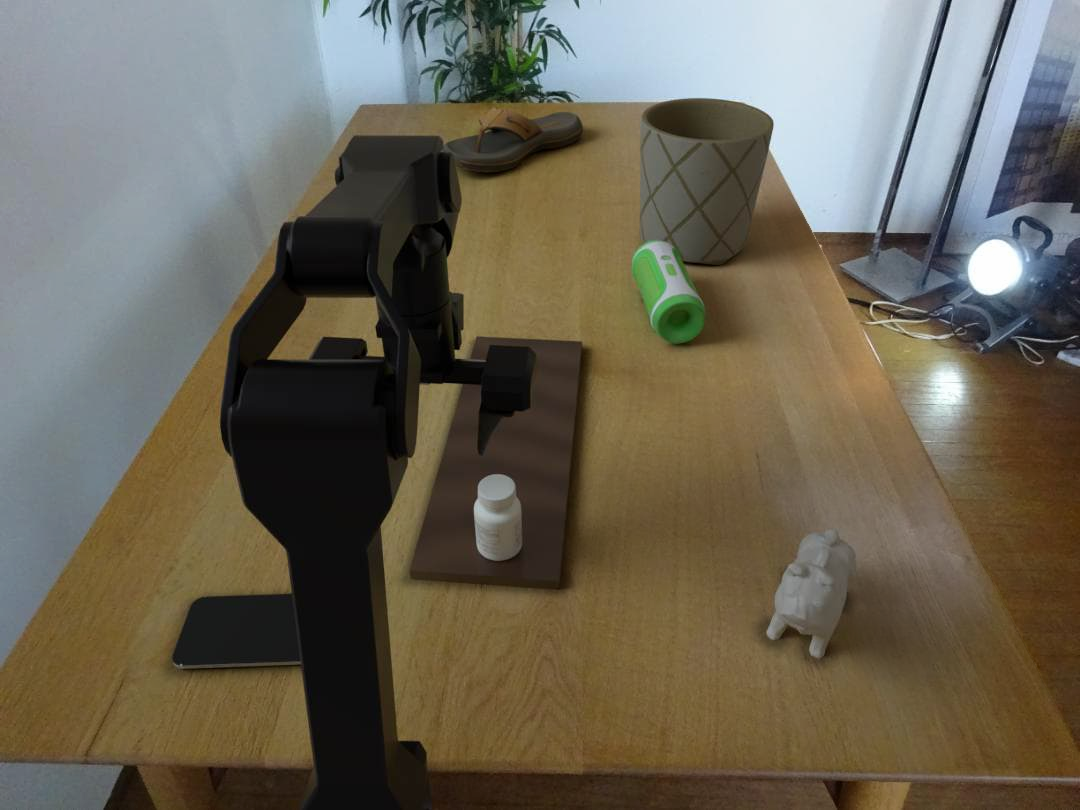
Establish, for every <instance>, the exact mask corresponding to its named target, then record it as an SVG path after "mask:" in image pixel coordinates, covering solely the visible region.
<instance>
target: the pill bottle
mask: <svg viewBox="0 0 1080 810" xmlns="http://www.w3.org/2000/svg"><path fill="white" fill-rule="evenodd" d="M474 519H475V531H476V542H477V548H478V550H479V552H480V553H481V554H482V555H483V556H484V557H485V558H487V559H490V560H494V561H503V560H507V559H510V558H512V557H513V556H515V555H516V554H517V553H518V552H519V551H520V549H521V547H522V516H521V504H520V501H519V499H518V498H517V497H516V486H515V483H514V481H513V480H512V479H511V478H510V477H508V476H505V475H501V474H494V475H490V476H487V477H485V478H484V479H482V480H481V481H480V483H479V484H478V499H477V500H476V502H475V505H474Z"/></svg>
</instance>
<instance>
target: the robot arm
mask: <svg viewBox="0 0 1080 810" xmlns="http://www.w3.org/2000/svg"><path fill="white" fill-rule="evenodd" d="M443 146H444V140H443V138H442V136H440V135H401V134H400V135H397V134H396V135H394V134H393V135H391V134H390V135H389V134H388V135H387V134H386V135H380V134H378V135H375V134H374V135H373V134H371V135H370V134H369V135H367V134H366V135H359V134H357V135H356V134H354V135H353V136H352V137H351V139H349V141H348V143H347V145H346V147H345V148H344V150H343V152H342V153H340V154H341V155H340V156H339V157H338V166H337V168H335V170H334V182H335V185H336V186H335V187H333V189H332V190H331V191H330V192H329V193H327V194H326V195H325V196H324V197H323V198H322V199H321V200H320V201H319V202H318V203H317V204H316V205H315V206H314V207H312V209H311V210H310V211H309V212H307V214H305V215H299V216H297V217H296V218H295V219H294V221H284V222H283V224H282V225H281V227H280V229H279V233H278V239H277V246H276V253H275V254H276V256H275V262H274V271H273V273H272V274H271V276H270V278H269V279H268V280H267V282H266V283H265V284H264V286H263V287H262V288H261V290H260V291H259V292H258V294H257V295H256V296H255V297H254V299H253V300H252V302H251V303H250V304H249V306H248V307H247V308H246V310H245V311H244V312H243V314H242V315H241V316H240V318H239V319H238V320H237V322H235V324H234V325H233V327H232V330H231V332H230V335H229V341H228V343H229V344H228V349H227V358H226V365H225V373H224V382H223V388H222V389H223V390H222V396H221V402H220V403H221V404H220V416H219V417H220V418H219V428H220V436H221V441H222V444H223V447H224V450H225V452H226V453H227V454H228V456H229V457H231V459H232V463H233V468H234V471H235V472H234V473H235V476H236V481H237V484H238V489H239V493H240V496H241V501H242V503H243V506H244V507H245V509H246V510H248V512H249V513H250V514H251V515H252V516H253V517H254V518H255V519H256V520H257V521H258V523H260V524H261V525H262V526H263V528H265V529H266V531H267V532H268V533H269V534H270V535H271V536H272V537H273V538H274V539H275V540H276V542H278V543H279V545H280V546H281V547H282V548H283V549H284V550H285V554H286V558H287V559H286V560H287V566H288V573H289V574H288V575H289V582H290V590H291V594H292V599H293V607H294V614H295V622H296V630H297V638H298V646H299V653H300V661H301V664H300V668H301V676H302V683H303V692H304V700H305V708H306V714H307V723H308V730H309V739H310V746H311V754H312V762H313V768H312V770H311V772H310V775H309V779H308V781H307V784H306V787H305V790H304V793H303V795H302V798H301V802H300V804H299V807H298V809H297V810H441V809H440V808H433V805H432V804H433V803H432V796H431V787H430V778H429V772H428V771H429V770H428V753H427V750H426V749H425V747H424V746H423V744H422V743H421V741H420V740H399V737H398V725H397V713H396V701H395V688H394V675H393V662H392V650H391V640H390V639H391V637H390V626H389V625H390V624H389V613H388V600H387V588H386V576H385V575H386V574H385V563H384V562H385V561H384V551H383V540H382V539H383V537H382V524H383V523H384V522H385V520H386V518H387V517H388V514H390V511H391V510H392V507H393V505H394V502H395V500H396V497H397V494H398V492H399V489H400V487H401V484H402V481H403V479H404V476H405V474H406V471H407V469H408V465H409V459H412V458H413V457H414V455H415V451H416V446H417V439H418V425H419V405H420V402H419V401H420V387H421V386H430V385H432V384H433V385H443V384H451V385H452V384H453V385H463V384H470V385H481V405H480V409H479V416H478V435H477V449H478V454H479V455H483V454H484V452H485V449H486V446H487V444H488V441H489V439H490V436H491V434H492V432H493V430H494V429H495V427H496V426H497V425H498V423H499V422H500V420H501V419H502V418H504V417H506V418H509V417H512V416H514V415H515V412H516V411H521V412H523V411H525V410H527V409H529V408H531V402H532V396H533V390H534V384H535V378H536V372H537V356H536V354H535V353H534V351H533V350H532V349H531V348H530V347H526V346H505V345H490V346H489V350H488V354H487V357H486V360H475V359H470V358H456V352H455V351H460V350H461V348H462V347H461V346H462V343H463V339H462V331H464V329H465V328H464V327H465V325H464V323H465V321H464V317H465V316H464V314H465V313H464V311H465V308H464V307H465V303H464V301H465V300H464V298H465V296H464V293H461V292H452V291H450V290H451V289H450V278H449V268H448V257H449V256H450V253H451V250H452V249H453V243H454V239H455V233H456V229H457V223H458V219H459V215H460V213H461V208H462V202H463V201H462V199H463V197H462V195H463V194H462V191H461V190H462V189H461V186H460V181H459V176H458V170H457V166H456V165H455V160H454V156H453V152H442V150H443ZM313 298H314V299H316V298H317V299H328V298H329V299H349V298H350V299H374V298H375V304H376V310H377V311H376V312H377V317H378V320H377V322H376V324H375V326H374V328H375V329H374V330H375V334H376V338H377V339H381V344H382V352H383V355H384V356H379V355H367V354H368V352H369V350H368V344H367V341H366V340H365V339H363V338H362V337H361V338H360V337H343V336H342V337H341V336H340V337H339V336H338V337H337V336H323V337H322V338H321V339H320V340H319V341H317V343H316V345H315V347H314V348H313V350H312V352H311V355H309V358H307V359H301V358H300V359H298V358H297V359H296V358H295V359H289V358H287V359H283V358H281V359H280V358H279V359H277V358H275V359H274V358H273V359H270V356H271V355H272V353H273V352H274V350H276V348H277V346H278V345H279V344H280V342H281V341H282V340H283V338H284V337H285V335H286V334H287V333H288V331H289V330H290V329H291V328H292V326H293V325H294V324H295V322H296V320H297V319H298V318H299V317H300V316H301V314H302V312H303V311H304V309H305V306H306V304H307V299H313Z"/></svg>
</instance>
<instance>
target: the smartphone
mask: <svg viewBox="0 0 1080 810" xmlns="http://www.w3.org/2000/svg"><path fill="white" fill-rule="evenodd" d="M171 660H172V663H173V664H174V666H175V667H176V668H178V669H182V670H186V669H188V670H189V669H211V668H212V669H213V668H241V667H243V668H245V667H268V666H270V667H271V666H272V667H273V666H291V665H292V666H295V665H296V666H297V665H300V666H301V661H300V653H299V646H298V638H297V630H296V622H295V614H294V607H293V599H292V593H275V594H274V593H272V594H271V593H270V594H269V593H268V594H243V595H242V594H241V595H240V594H238V595H214V596H213V595H212V596H211V595H209V596H207V595H206V596H201V597H199V598H196V599H195V600H193V602H192V603H191V605H190V606H189V609H188V613H187V615H186V618H185V620H184V622H183V626H182V628H181V631H180V633H179V636H178V639H177V641H176V644H175V647H174V649H173V653H172V656H171Z"/></svg>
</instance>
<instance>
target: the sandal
mask: <svg viewBox="0 0 1080 810" xmlns="http://www.w3.org/2000/svg"><path fill="white" fill-rule="evenodd" d="M484 112H485V114H483V115H481V116H480V117H478V122H479V124H480V127H479V132H478V134H474V135H469V136H464V137H460V138H459V137H458V138H457V139H453V140H450V141H447V142H445V143H443V150H442V151H441V152H453V156H454V160H455V165H456V167H457V168H460V169H463V170H466V171H470V172H476V173H477V172H478V173H498V172H503V171H507V170H510V169H514V168H516V167H517V166H518V165H520V164H521V162H522V161H524V160H525V158H527V157H528V156H530V155H531V154H534V153H535V152H538V151H540V150H545V149H546V150H549V149H556V148H557V149H558V148H562V147H566V146H568V145H570V144H572V143H574V142H576V141H577V140H579V139H580V138H581V136H582V135H583V132H584V126H583V123H582V121H581V120H582V119H581V118H580V117H579V116H578V115H577V114H575V113H573V112H570V111H557V112H553V113H550V114H548V115H545V116H541V117H538V118H537V117H536V118H530V119H529V118H527V117H526V116H524V115H522V114H519V113H517V112H513V111H509V110H504V109H500V108H498V107H496V106H495V107H493V108H492V109H490V110H485V111H484Z"/></svg>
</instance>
